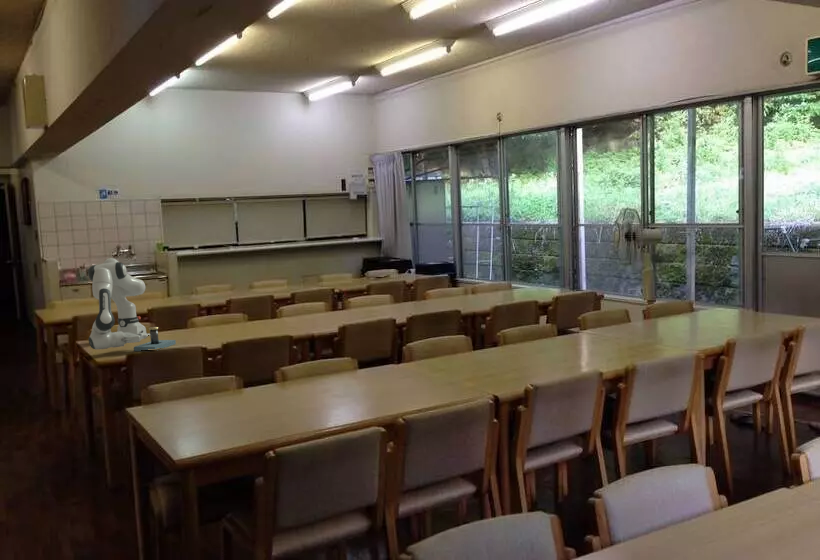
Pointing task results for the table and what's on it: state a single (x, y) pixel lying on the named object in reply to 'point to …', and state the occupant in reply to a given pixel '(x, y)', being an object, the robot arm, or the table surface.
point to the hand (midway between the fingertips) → (143, 335)
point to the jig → (155, 345)
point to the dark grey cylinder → (154, 335)
